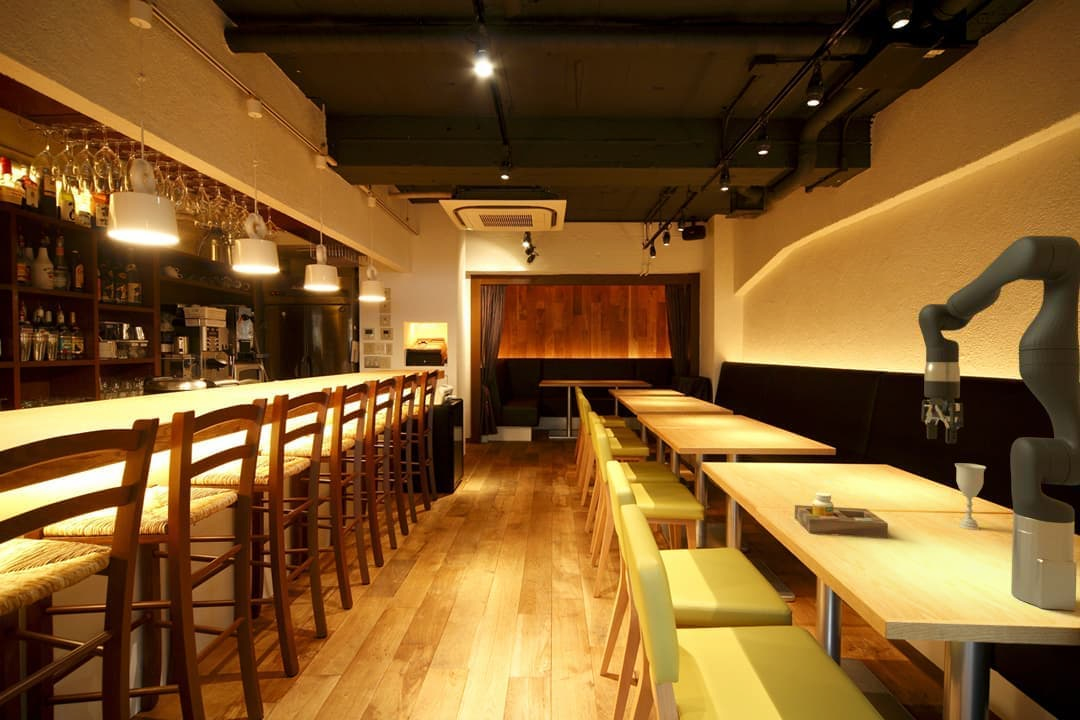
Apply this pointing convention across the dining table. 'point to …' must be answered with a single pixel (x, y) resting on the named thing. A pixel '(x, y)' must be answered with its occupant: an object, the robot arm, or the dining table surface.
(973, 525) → the chalice
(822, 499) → the supplement bottle
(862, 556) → the dining table surface
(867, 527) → the socket block
